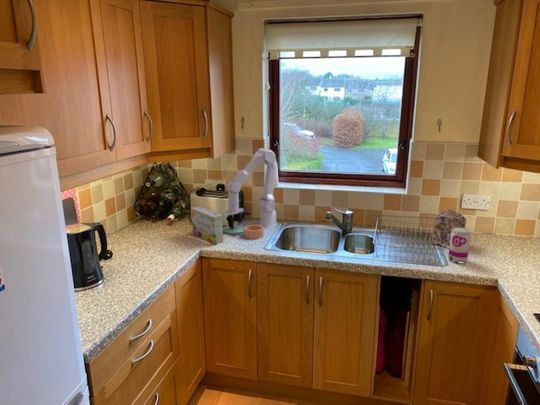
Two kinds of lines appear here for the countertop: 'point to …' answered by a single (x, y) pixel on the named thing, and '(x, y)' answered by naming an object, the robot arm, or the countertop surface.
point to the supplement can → (459, 245)
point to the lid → (234, 229)
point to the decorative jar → (446, 226)
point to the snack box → (207, 225)
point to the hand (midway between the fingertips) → (233, 227)
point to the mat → (233, 234)
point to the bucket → (254, 231)
